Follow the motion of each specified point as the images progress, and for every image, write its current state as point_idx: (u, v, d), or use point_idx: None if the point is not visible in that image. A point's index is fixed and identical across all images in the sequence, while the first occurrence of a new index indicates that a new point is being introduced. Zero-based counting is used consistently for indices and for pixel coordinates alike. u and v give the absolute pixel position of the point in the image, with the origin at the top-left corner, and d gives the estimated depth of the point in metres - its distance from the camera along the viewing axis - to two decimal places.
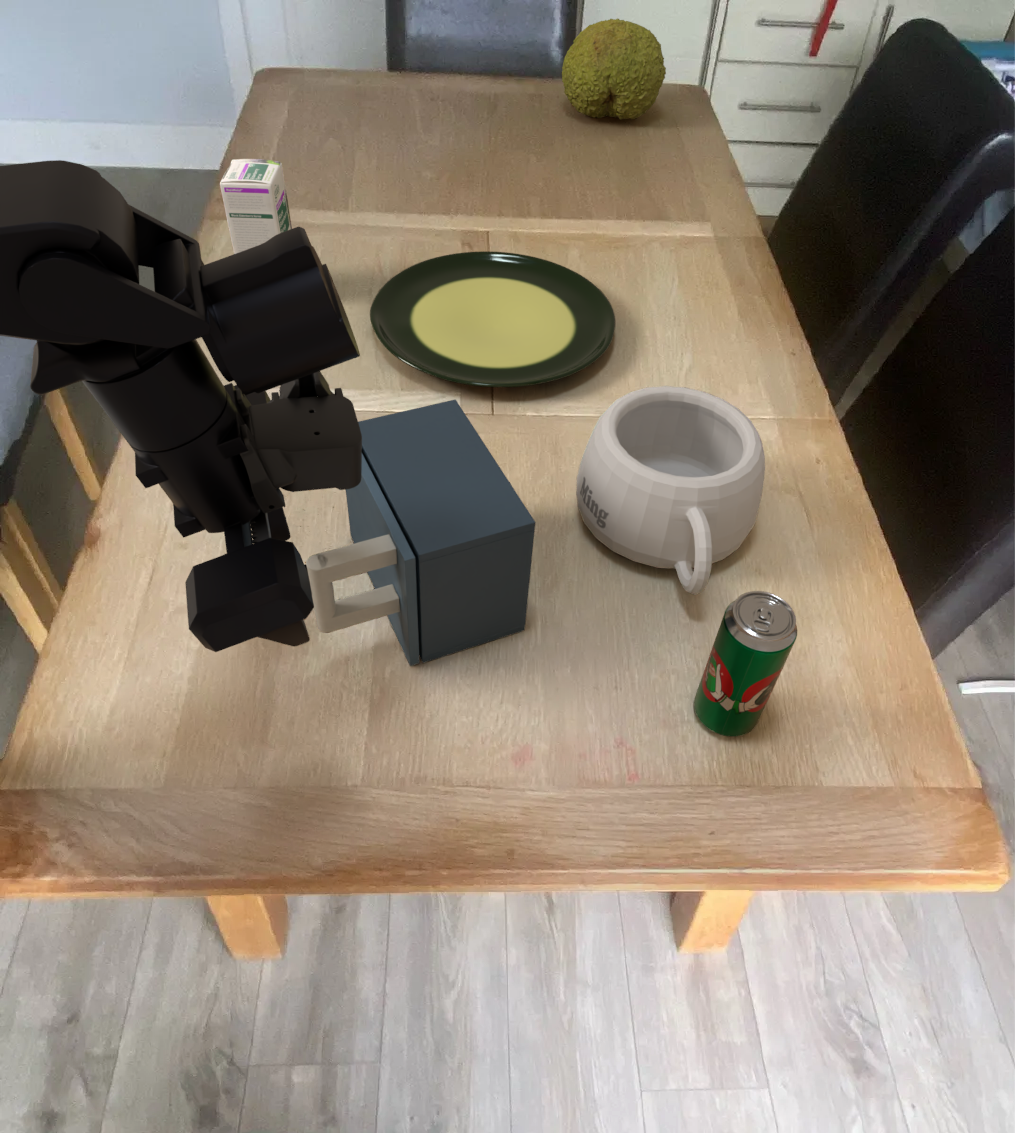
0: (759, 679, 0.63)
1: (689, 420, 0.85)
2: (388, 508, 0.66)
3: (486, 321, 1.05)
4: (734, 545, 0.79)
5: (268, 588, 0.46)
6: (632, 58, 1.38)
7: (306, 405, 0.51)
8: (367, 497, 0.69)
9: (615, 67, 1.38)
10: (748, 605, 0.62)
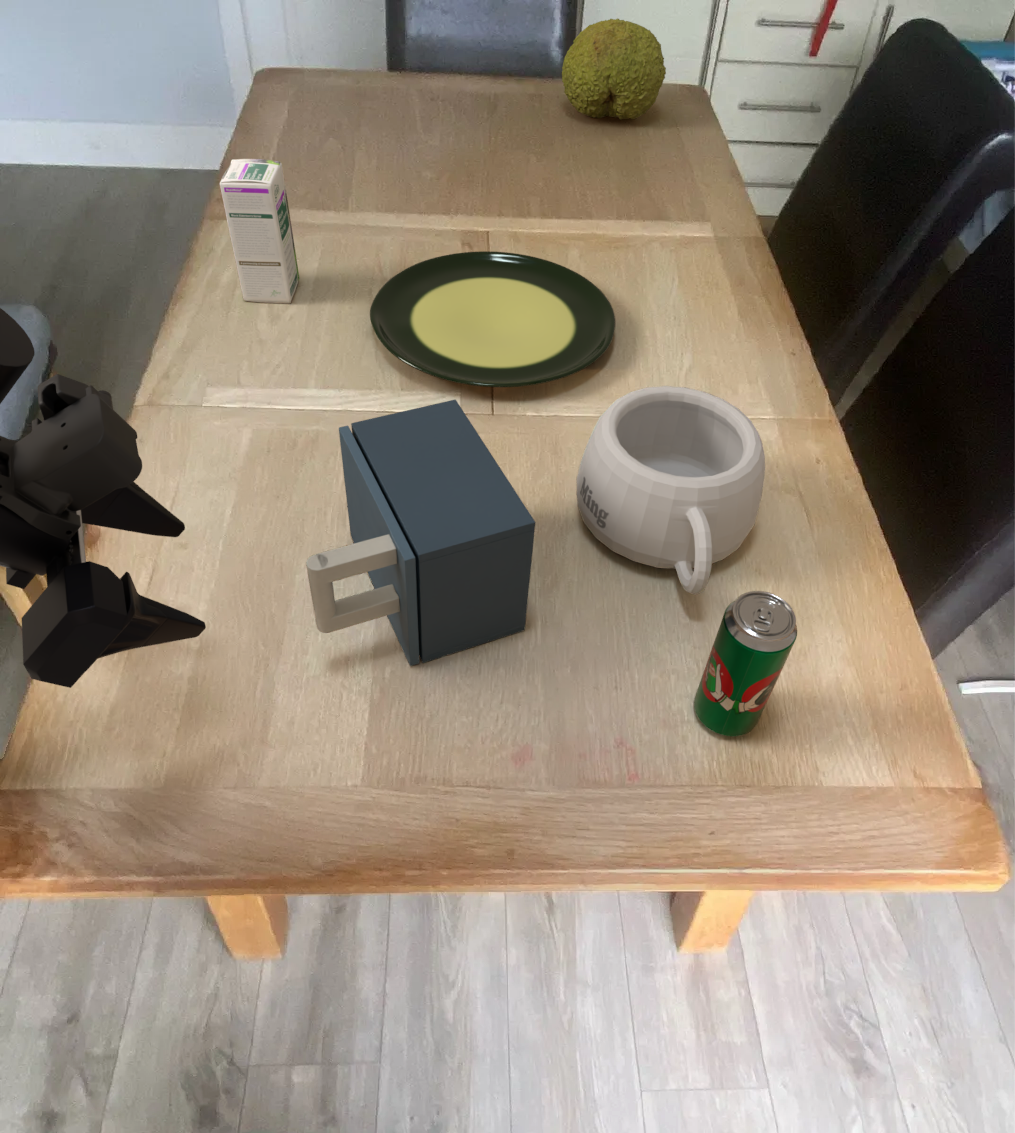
0: (759, 679, 0.63)
1: (689, 420, 0.85)
2: (388, 508, 0.66)
3: (486, 321, 1.05)
4: (734, 546, 0.79)
5: (64, 620, 0.46)
6: (632, 58, 1.38)
7: (59, 421, 0.50)
8: (367, 497, 0.69)
9: (615, 67, 1.38)
10: (748, 605, 0.62)
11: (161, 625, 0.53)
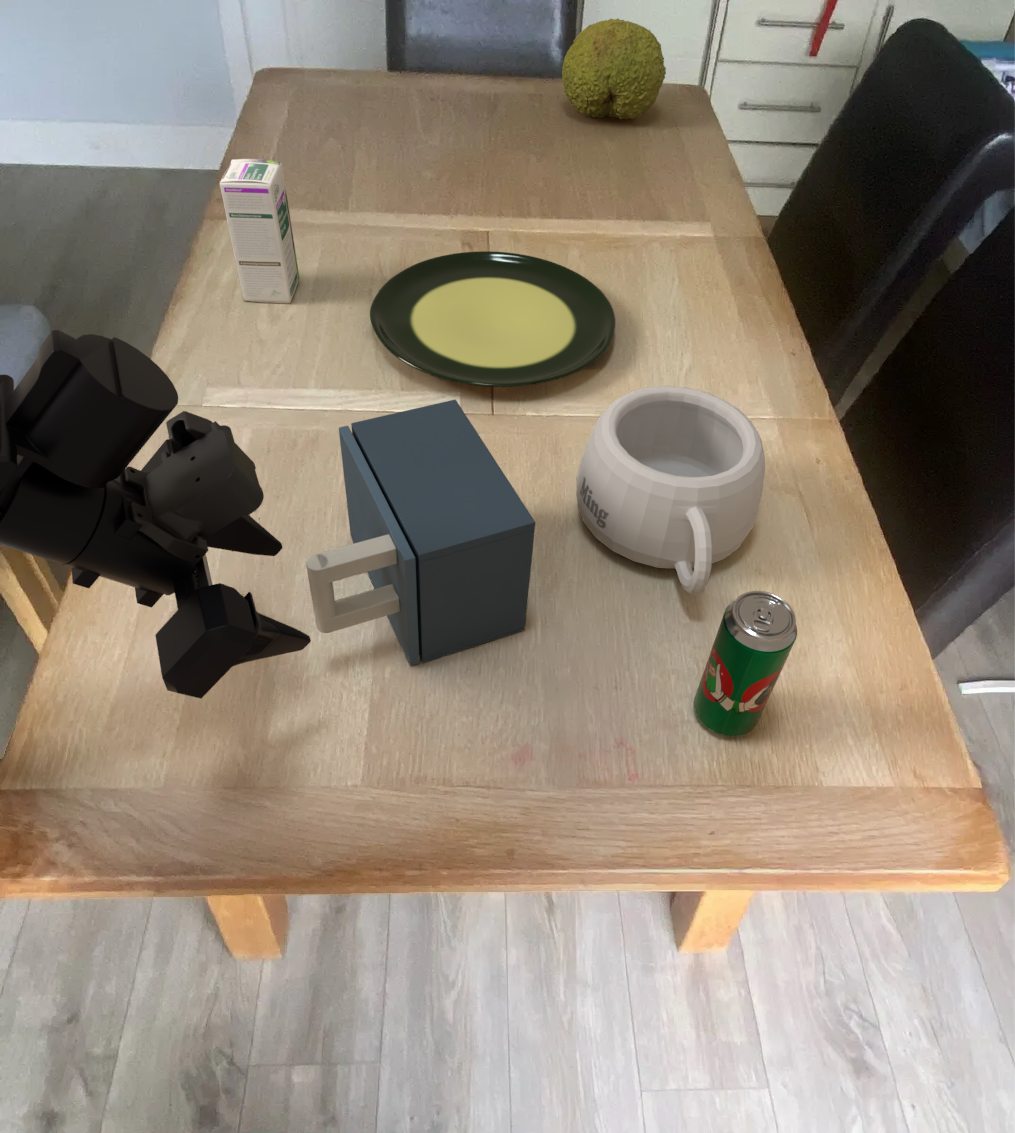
0: (759, 679, 0.63)
1: (689, 420, 0.85)
2: (388, 508, 0.66)
3: (486, 321, 1.05)
4: (734, 545, 0.79)
5: (202, 637, 0.51)
6: (632, 58, 1.38)
7: (188, 454, 0.54)
8: (367, 497, 0.69)
9: (615, 67, 1.38)
10: (748, 605, 0.62)
11: (275, 640, 0.58)
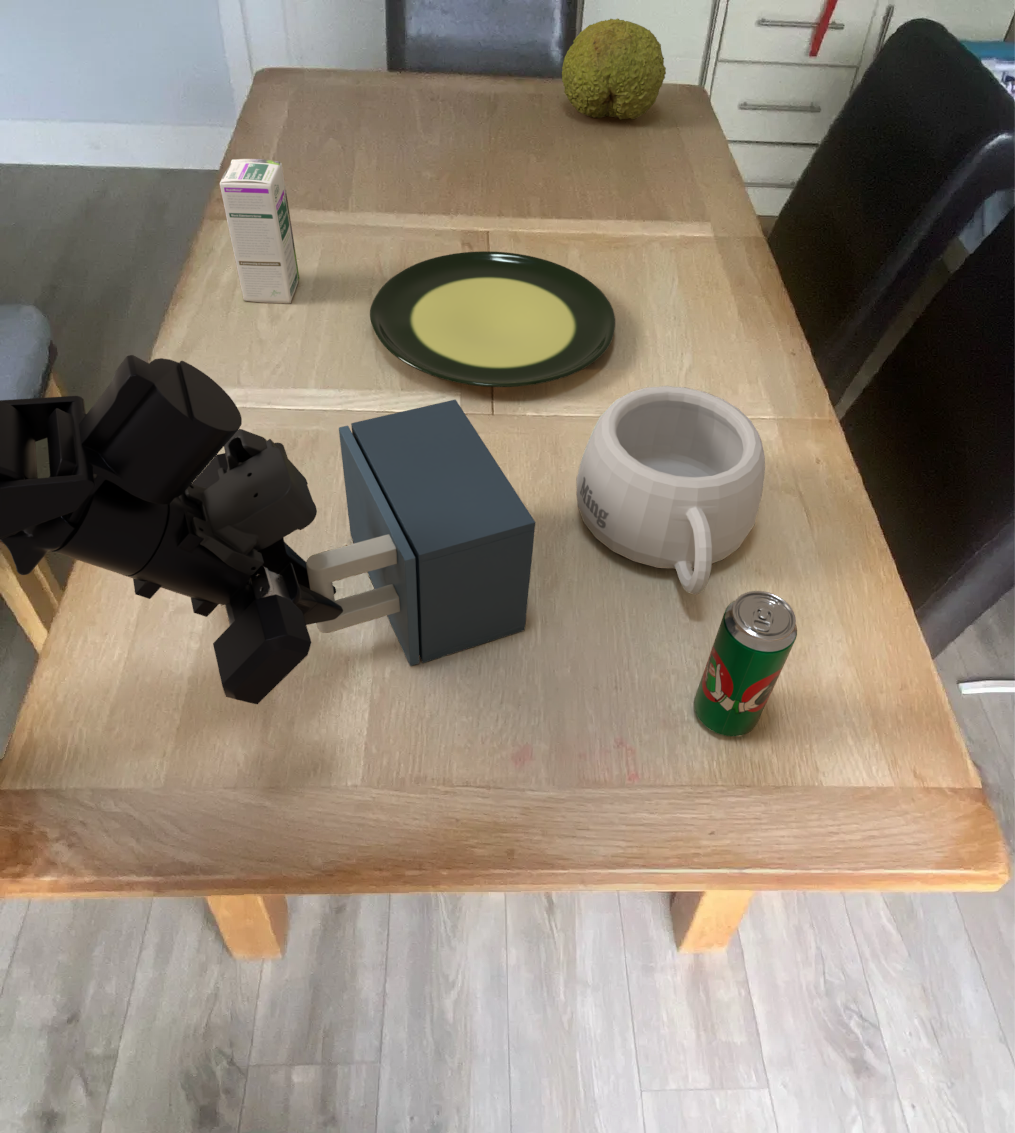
0: (759, 679, 0.63)
1: (689, 420, 0.85)
2: (388, 508, 0.66)
3: (486, 321, 1.05)
4: (734, 545, 0.79)
5: (261, 646, 0.53)
6: (632, 58, 1.38)
7: (244, 471, 0.57)
8: (367, 497, 0.69)
9: (615, 67, 1.38)
10: (748, 605, 0.62)
11: (311, 608, 0.63)
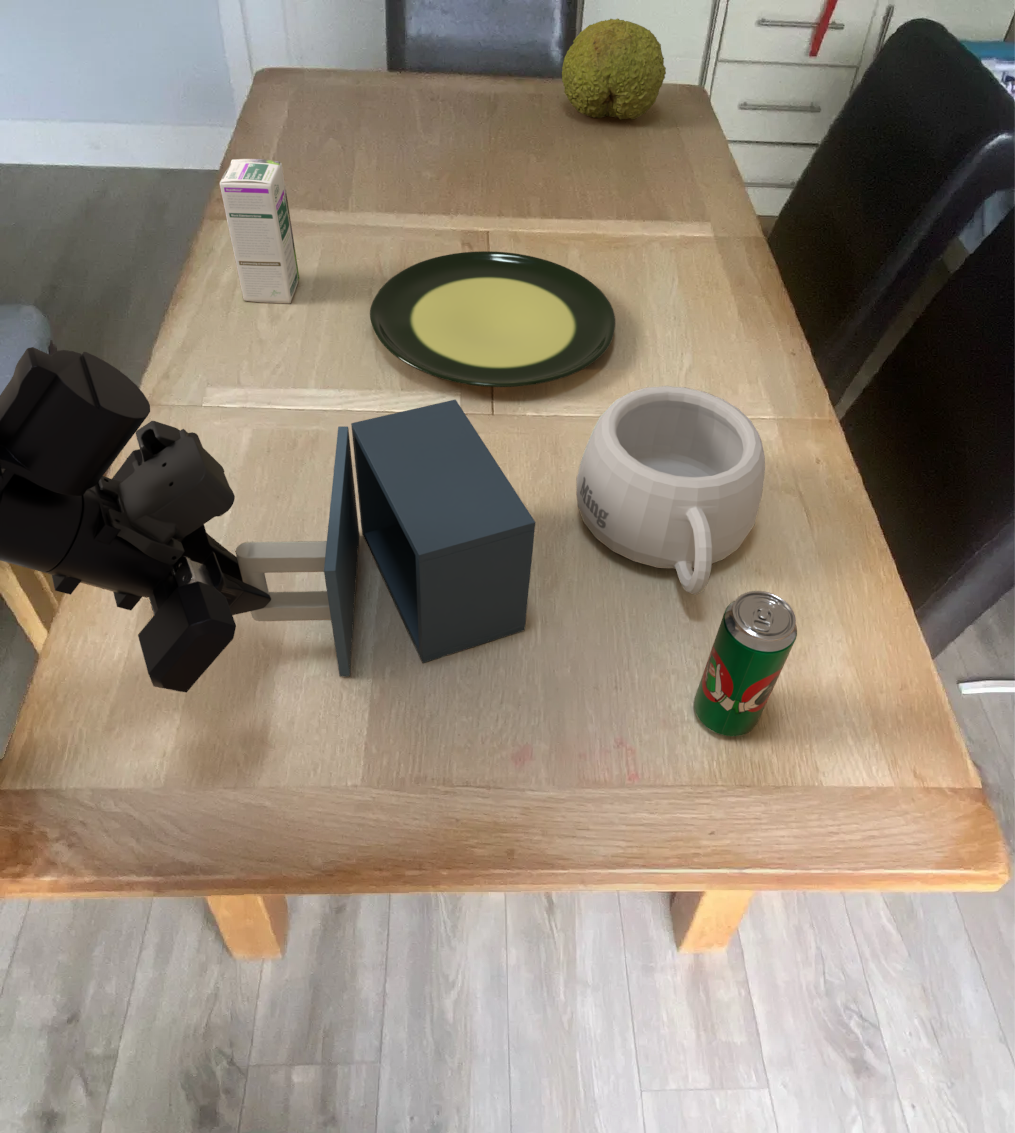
0: (759, 679, 0.63)
1: (689, 420, 0.85)
2: (338, 515, 0.65)
3: (486, 321, 1.05)
4: (734, 545, 0.79)
5: (185, 632, 0.54)
6: (632, 58, 1.38)
7: (159, 461, 0.57)
8: None
9: (615, 67, 1.38)
10: (748, 605, 0.62)
11: (238, 597, 0.63)
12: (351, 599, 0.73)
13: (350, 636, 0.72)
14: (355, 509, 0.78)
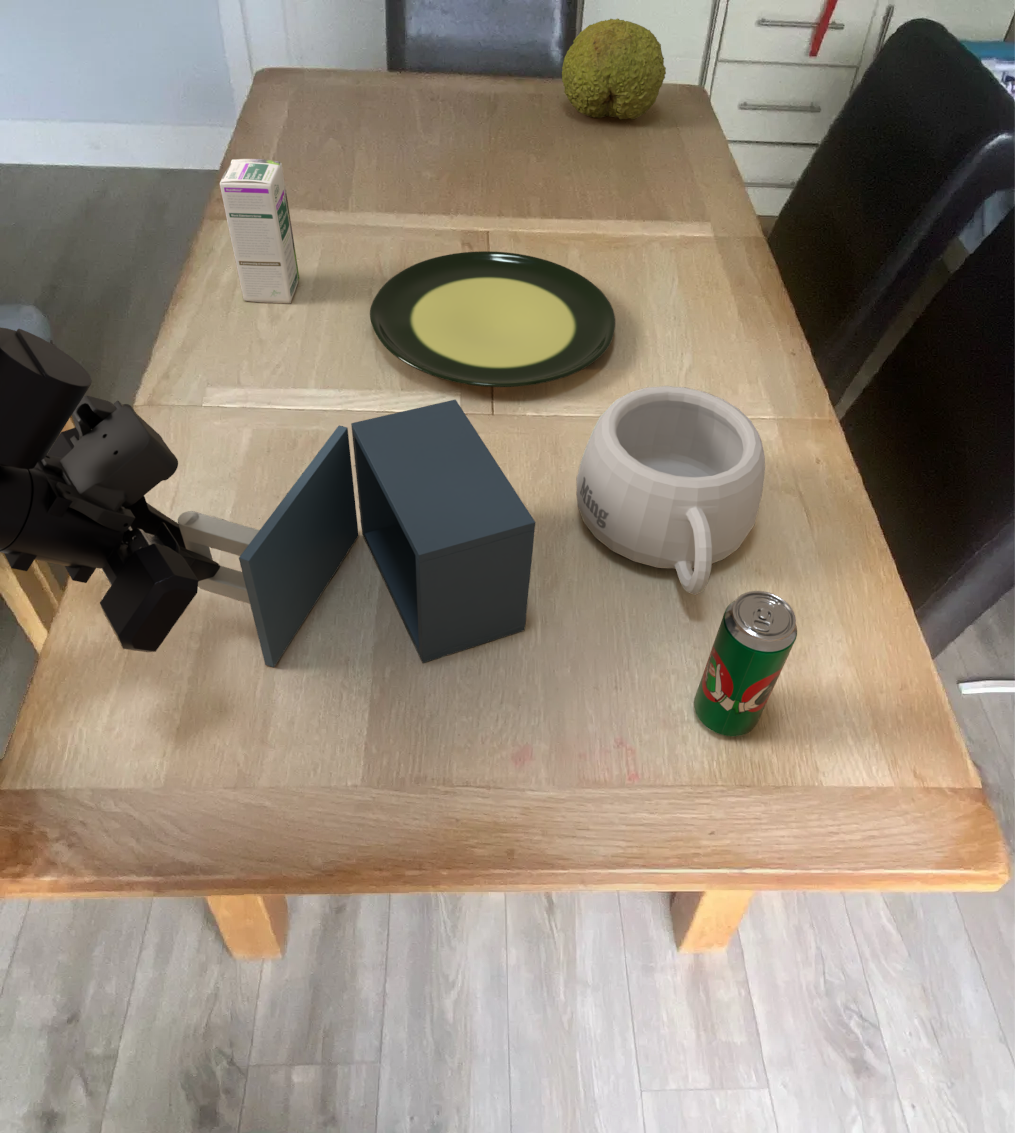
0: (759, 679, 0.63)
1: (689, 420, 0.85)
2: (284, 510, 0.65)
3: (486, 321, 1.05)
4: (734, 546, 0.79)
5: (151, 590, 0.56)
6: (632, 58, 1.38)
7: (98, 434, 0.59)
8: None
9: (615, 67, 1.38)
10: (748, 605, 0.62)
11: (190, 566, 0.65)
12: (305, 594, 0.73)
13: (289, 629, 0.72)
14: (351, 510, 0.78)
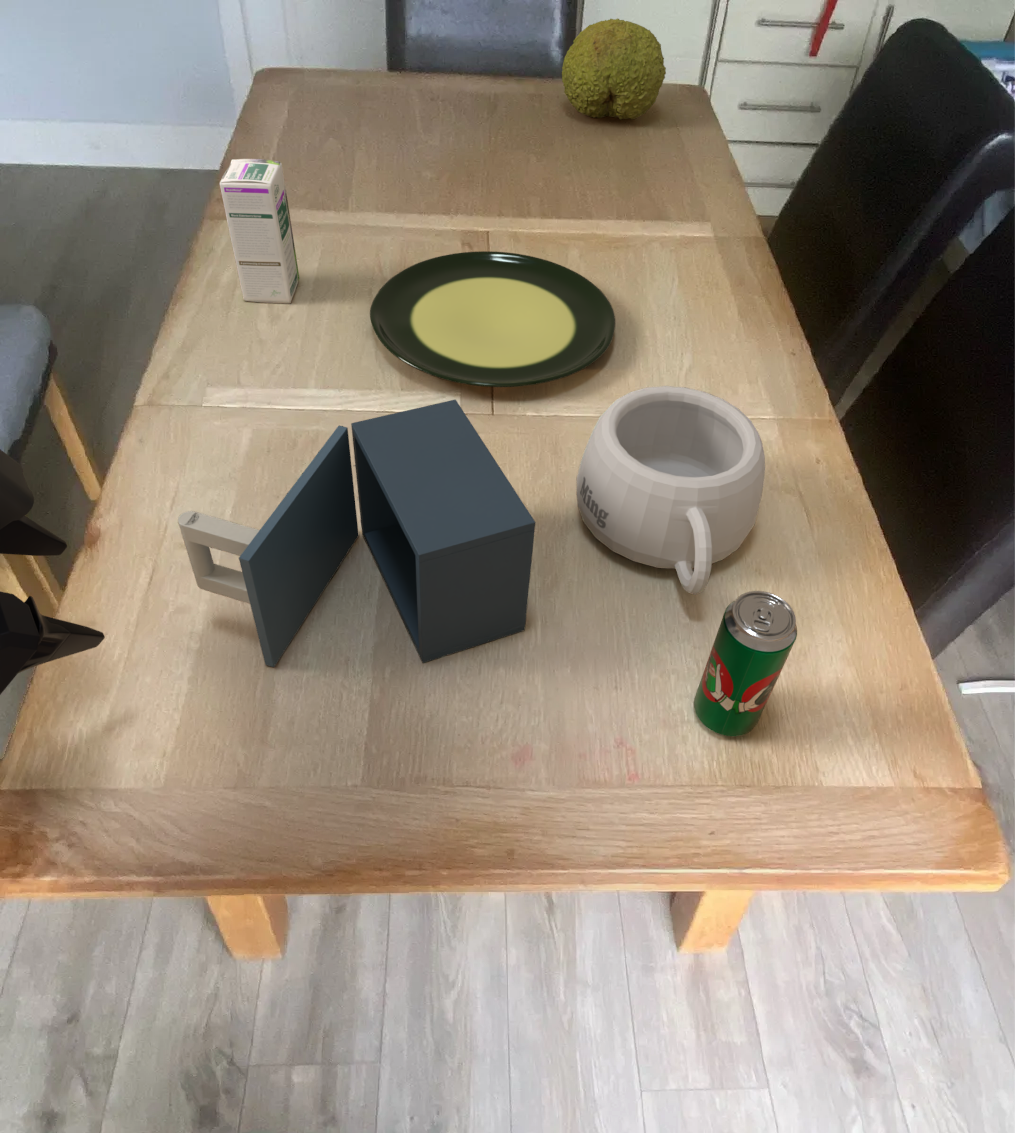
0: (759, 679, 0.63)
1: (689, 420, 0.85)
2: (284, 510, 0.65)
3: (486, 321, 1.05)
4: (734, 546, 0.79)
5: None
6: (632, 58, 1.38)
7: None
8: None
9: (615, 67, 1.38)
10: (748, 605, 0.62)
11: (65, 640, 0.58)
12: (305, 594, 0.73)
13: (289, 629, 0.72)
14: (351, 510, 0.78)
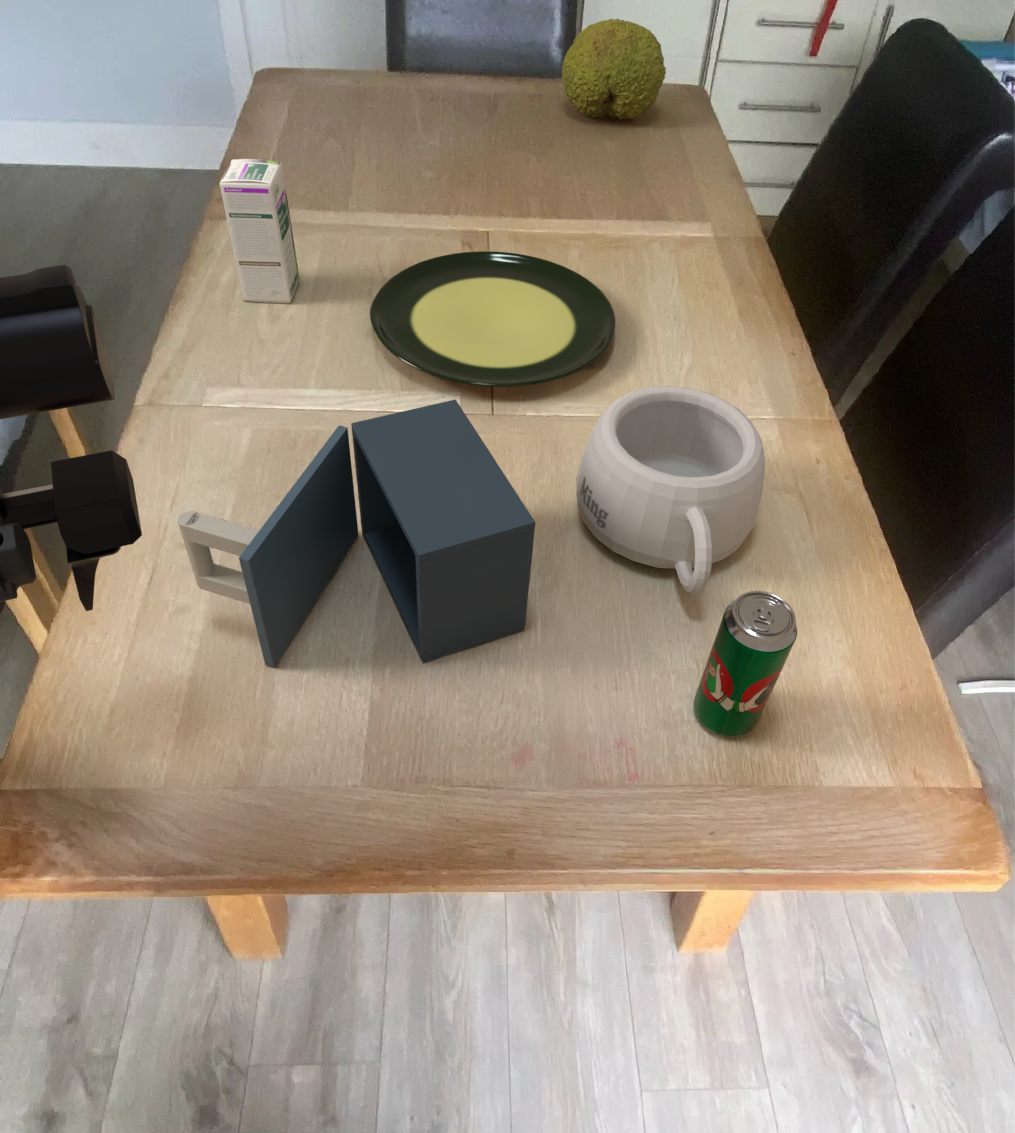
0: (759, 679, 0.63)
1: (689, 420, 0.85)
2: (284, 510, 0.65)
3: (486, 321, 1.05)
4: (734, 546, 0.79)
5: None
6: (632, 58, 1.38)
7: None
8: None
9: (615, 67, 1.38)
10: (748, 605, 0.62)
11: None
12: (305, 594, 0.73)
13: (289, 629, 0.72)
14: (351, 510, 0.78)
